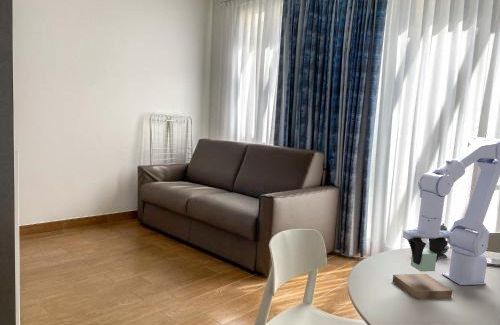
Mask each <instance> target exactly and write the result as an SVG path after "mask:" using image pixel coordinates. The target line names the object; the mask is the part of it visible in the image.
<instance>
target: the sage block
mask: <svg viewBox="0 0 500 325" xmlns="http://www.w3.org/2000/svg"><path fill="white" fill-rule="evenodd" d="M436 258H437V254H436V253H434V252H432V251H430V250H428V249H426V248H424V249H423V252H422V257H421V262H420V265H417V264H415V263H414V262H413V256H412V255H411V257H410V259H411V260H410V267H413V268H414V269H416V270H418V271H419V272H422V273H423V272H435V271H436V266H437V265H436V264H437V262H436Z"/></svg>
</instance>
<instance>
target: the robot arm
mask: <svg viewBox="0 0 500 325" xmlns="http://www.w3.org/2000/svg"><path fill="white" fill-rule="evenodd" d="M473 164H475V166H477V167H478V168H479V169H480V172H479V174H478V178H477V180H476V183H475V185H474V189H473V191H472V194H471V198H470V199H469V203H468V206H467V208H466V210H465V211H466V212H465V213H464V216H463V218H460V219H457V220H455V221H454V222H453V225H452V227H451V228H450V229H449V230H447V231H444V230H440V228H441V225H442V220H443V215H444V214H443V212H444V206H445V199H446V196H448V195H449V194H450V192H451V190H452V187H453V186H454V184H455V182H457V181H458V180H459V179H461V178H462V177H463V176H464V175H465V173H466V168H469V166H471V165H473ZM499 179H500V138H488V137H480V136H474V137H472V138H471V139H470V140H469V141H468V143H467V147H466V148H465V150H464V151H462V152H461V153H460V154H459V156H457V157H456V158H447V159H446V160H445V162H443V164H441V165H440V166H438V167H437V168H436V169H435V170H433V171H432V172H425V173H424V174H422V175H421V177H420V179H419V181H418V184H417V185H418V186H417V187H418V189H419V197H420V198H421V199H420V207H419V215H418V221H417V223H418V224H417V227H416V228H415V229H407V230H403V232H402V238H403V239H405V240H407V241H408V243H409V247H410V250H411V257H412V256H413V262H414V263H415V264H417V265H420V262H421V257H422V252H423V249H424V247H425V245H426V243H424V242H422V240H421V239H428V240H429V250H430V251H432V252H434V253H436V254H437V258H436V263H437V261H438V260H439V255H440V253H441V252H442V250H443V249H444V248H445V247H446V246H449V249H450V250H451V256H450V263H449V269H448V272H442V274H441V275H442V276H444V277H446V278H448V279H449V280H451V281H453V283H456V284H458V285H460V286H471V285H476V286H477V285H487V282H486V281H485V278H486V272H487V267H488V266H487V265H488V261H487V257H486V256H485V254H484V253H486V251H487V250H488V246H489V240H490V239H489V238H490V234H491V233H490V231H489V230H488V229H487V228H486V226H485V224H484V220H485V218H486V215H487V213H488V209H489V207H490V204H491V201H492V198H493V195H494V193H495V191H496V190H495V189H496V187H497V184H498V182H499ZM445 238H446V240H445Z"/></svg>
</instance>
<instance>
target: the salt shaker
mask: <svg viewBox="0 0 500 325" xmlns="http://www.w3.org/2000/svg"><path fill="white" fill-rule="evenodd" d="M440 230H444V231H448V227H447V226H445V224H444V222H443V223H441V228H440ZM445 240H446V241H447V238H445ZM449 249H450V246H449V245H447V246H446V247H445V248H444V249H443V250H442V252H441V253H440V255H439V257H438V259H439V258H441V259H446V258H448V256H447V255H446V253H447V252H448V250H449Z"/></svg>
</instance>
